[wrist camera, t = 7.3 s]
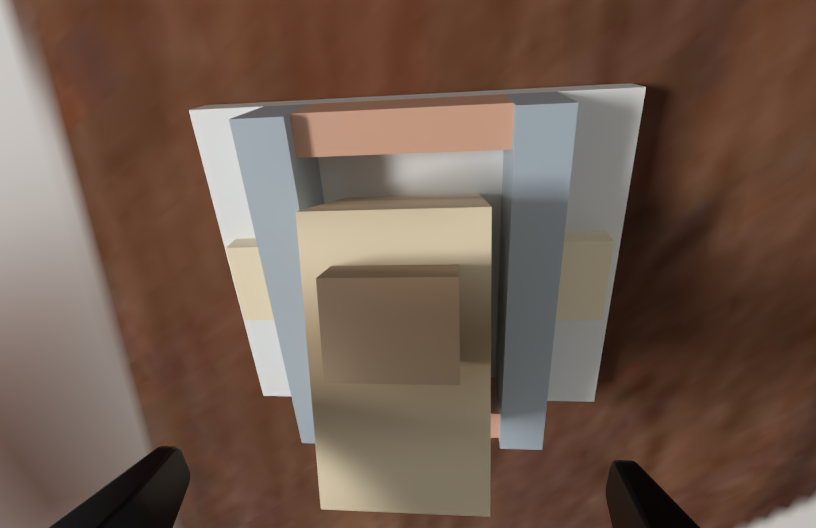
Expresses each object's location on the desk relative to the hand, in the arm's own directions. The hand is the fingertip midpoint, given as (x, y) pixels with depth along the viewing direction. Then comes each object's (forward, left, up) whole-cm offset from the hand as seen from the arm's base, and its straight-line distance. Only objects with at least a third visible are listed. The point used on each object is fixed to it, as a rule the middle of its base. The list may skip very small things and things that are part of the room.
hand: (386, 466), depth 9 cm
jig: (0, 0, -9) cm, 9 cm away
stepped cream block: (-1, 0, -7) cm, 7 cm away
